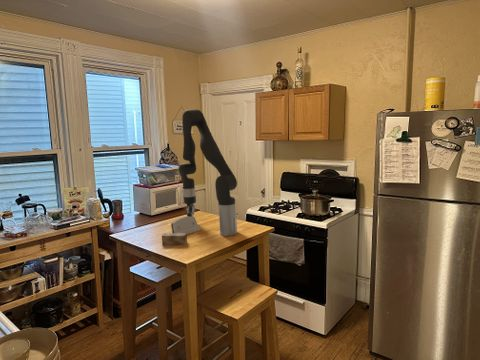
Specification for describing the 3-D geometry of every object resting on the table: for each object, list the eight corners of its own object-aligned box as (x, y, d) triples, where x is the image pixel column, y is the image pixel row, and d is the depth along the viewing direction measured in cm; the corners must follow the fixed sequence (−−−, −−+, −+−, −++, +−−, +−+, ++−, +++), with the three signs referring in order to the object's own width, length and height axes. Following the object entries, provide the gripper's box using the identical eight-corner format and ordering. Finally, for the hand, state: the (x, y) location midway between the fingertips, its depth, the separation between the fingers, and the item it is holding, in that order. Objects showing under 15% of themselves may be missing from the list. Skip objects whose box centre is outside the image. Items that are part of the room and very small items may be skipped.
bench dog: (187, 242, 170) (186, 233, 169) (185, 245, 166) (184, 235, 165) (165, 242, 171) (164, 233, 171) (162, 245, 167) (161, 235, 167)
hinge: (177, 237, 179) (172, 219, 180) (172, 238, 182) (168, 221, 183) (201, 229, 190) (196, 213, 191) (196, 230, 194) (192, 214, 195)
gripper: (192, 197, 191) (194, 225, 194) (198, 193, 204) (199, 219, 207) (180, 197, 192) (182, 225, 195) (186, 193, 205) (188, 219, 208)
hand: (191, 222), depth 201 cm, fingers closed
